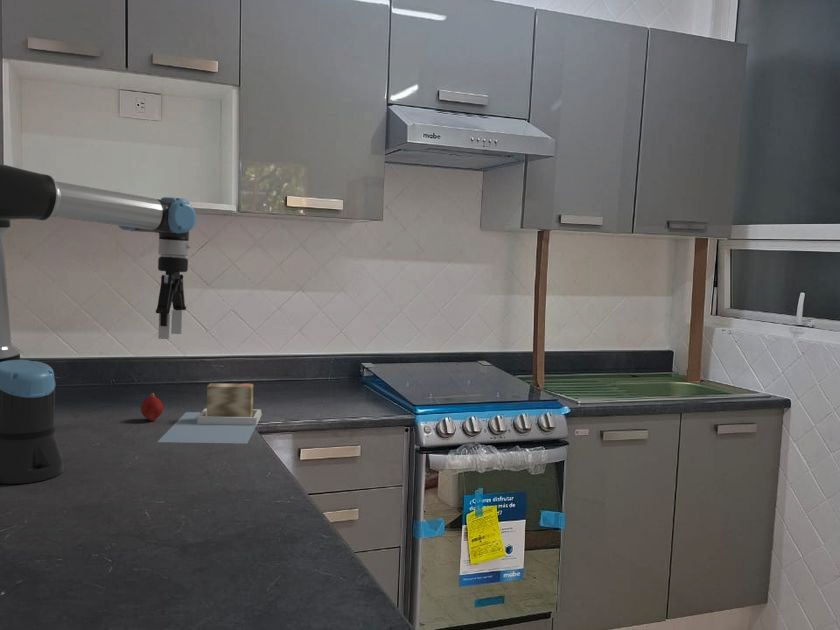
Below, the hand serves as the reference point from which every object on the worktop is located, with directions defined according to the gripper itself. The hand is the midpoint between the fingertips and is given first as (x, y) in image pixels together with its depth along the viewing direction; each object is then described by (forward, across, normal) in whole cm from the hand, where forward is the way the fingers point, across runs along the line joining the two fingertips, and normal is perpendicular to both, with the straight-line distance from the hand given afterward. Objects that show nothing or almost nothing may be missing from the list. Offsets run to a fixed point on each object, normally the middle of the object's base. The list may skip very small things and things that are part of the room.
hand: (170, 336), depth 203 cm
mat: (+24, +1, -12) cm, 27 cm away
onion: (+25, +7, +6) cm, 26 cm away
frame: (+24, +9, -15) cm, 30 cm away
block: (+24, +9, -15) cm, 30 cm away
